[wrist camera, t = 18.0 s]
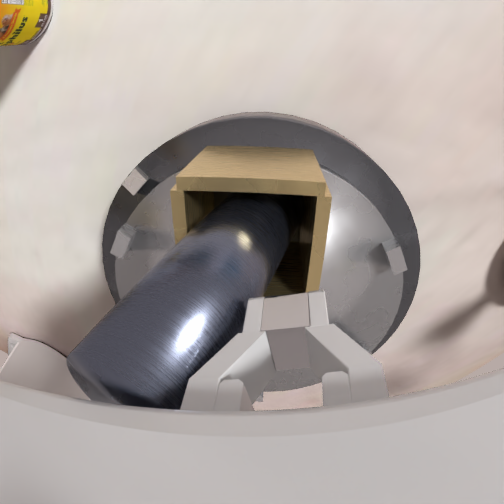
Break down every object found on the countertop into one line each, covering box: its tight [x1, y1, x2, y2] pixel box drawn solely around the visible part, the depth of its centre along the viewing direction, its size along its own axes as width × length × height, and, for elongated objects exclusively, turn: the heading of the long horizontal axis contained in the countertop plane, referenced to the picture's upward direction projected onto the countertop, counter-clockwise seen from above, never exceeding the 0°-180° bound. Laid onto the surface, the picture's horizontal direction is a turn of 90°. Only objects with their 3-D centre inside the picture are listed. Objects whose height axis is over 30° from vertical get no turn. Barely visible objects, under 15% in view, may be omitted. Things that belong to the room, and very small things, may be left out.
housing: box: [102, 112, 420, 354], centre depth 26 cm, size 26×26×4 cm
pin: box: [66, 192, 305, 410], centre depth 13 cm, size 4×4×14 cm
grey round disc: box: [110, 146, 407, 402], centre depth 21 cm, size 23×22×7 cm
